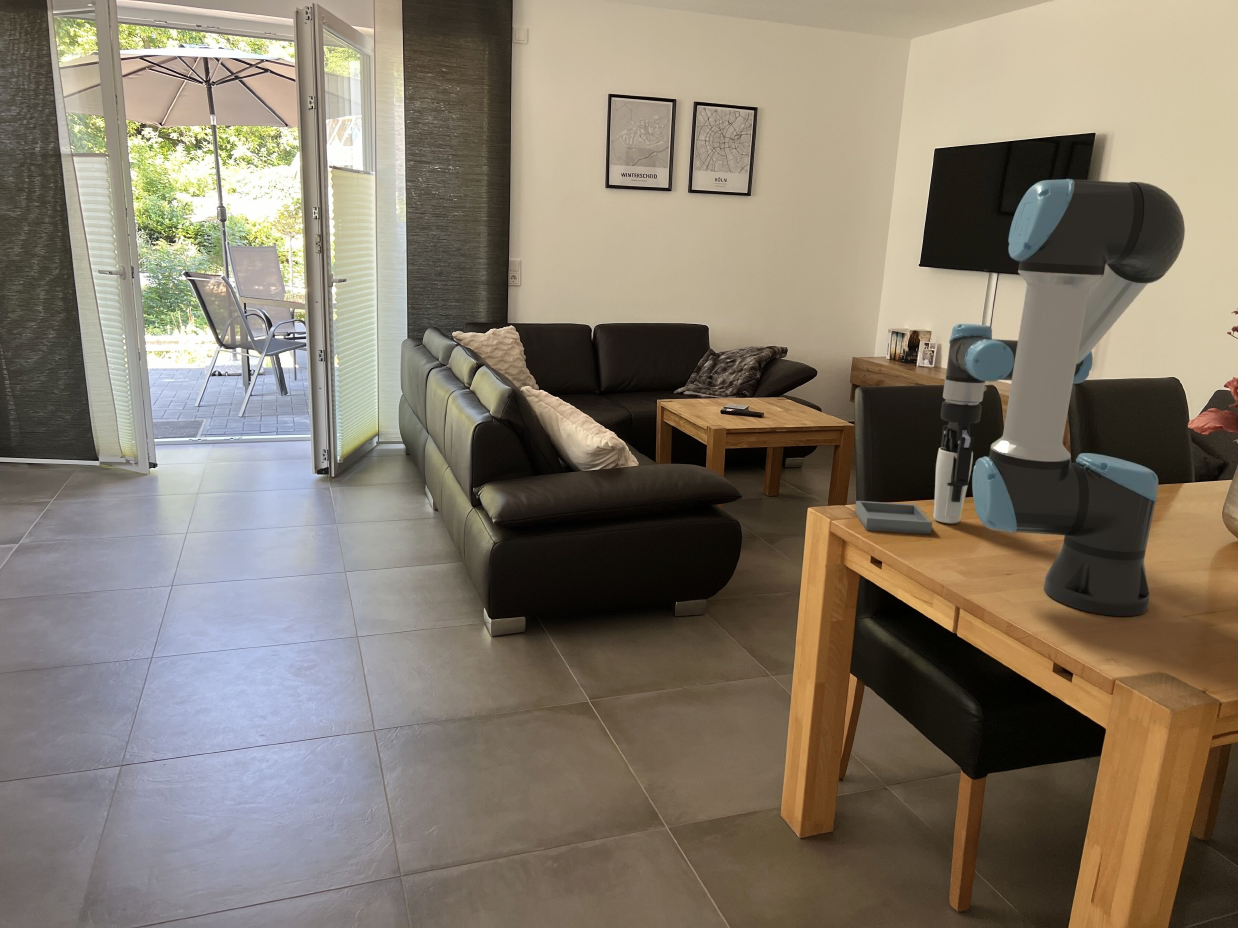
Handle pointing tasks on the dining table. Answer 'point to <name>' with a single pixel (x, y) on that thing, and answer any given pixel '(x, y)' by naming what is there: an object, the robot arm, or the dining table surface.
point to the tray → (893, 517)
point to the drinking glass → (945, 485)
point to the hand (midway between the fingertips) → (947, 511)
